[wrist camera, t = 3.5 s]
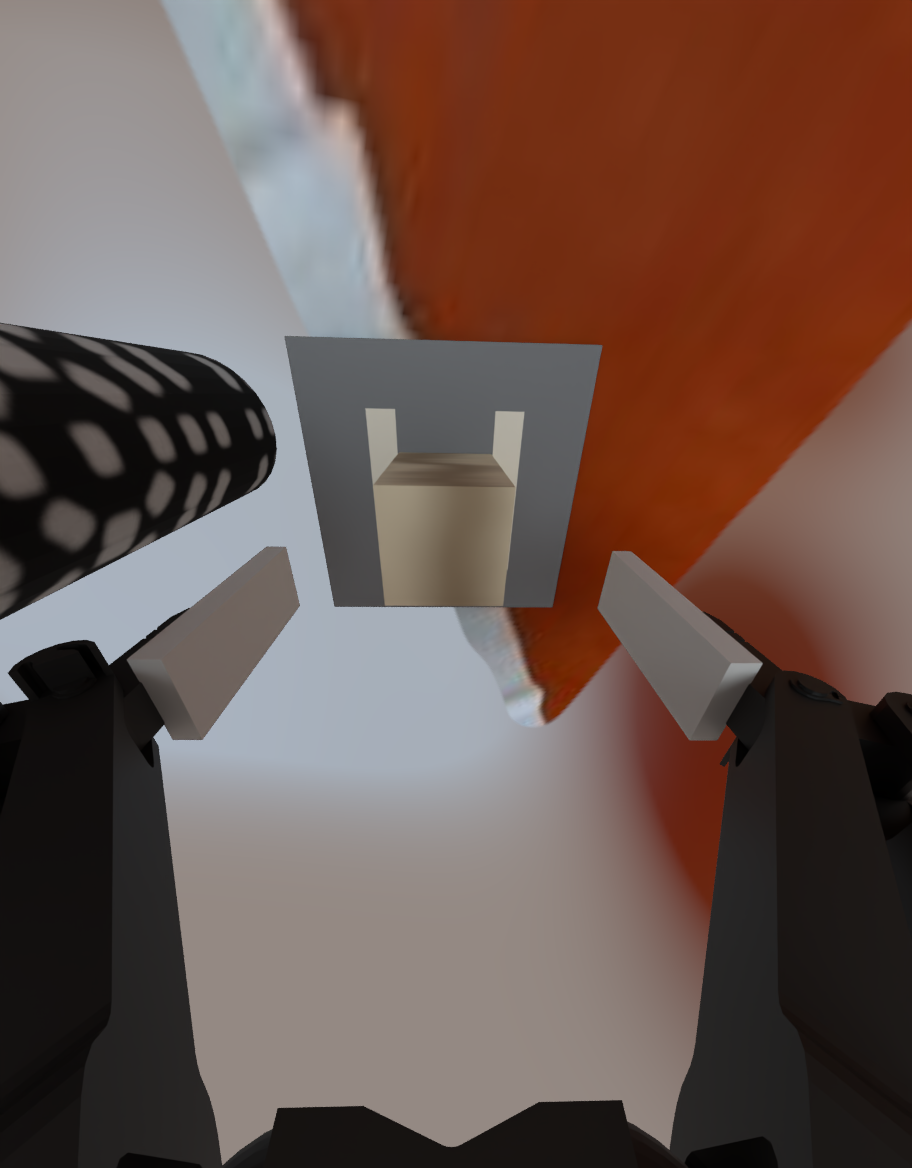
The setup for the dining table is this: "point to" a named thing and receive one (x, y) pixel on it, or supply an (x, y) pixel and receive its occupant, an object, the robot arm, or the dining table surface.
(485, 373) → the board
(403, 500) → the birch block
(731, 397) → the dining table surface
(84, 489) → the white-spotted black cylinder
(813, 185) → the dining table surface
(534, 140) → the dining table surface
